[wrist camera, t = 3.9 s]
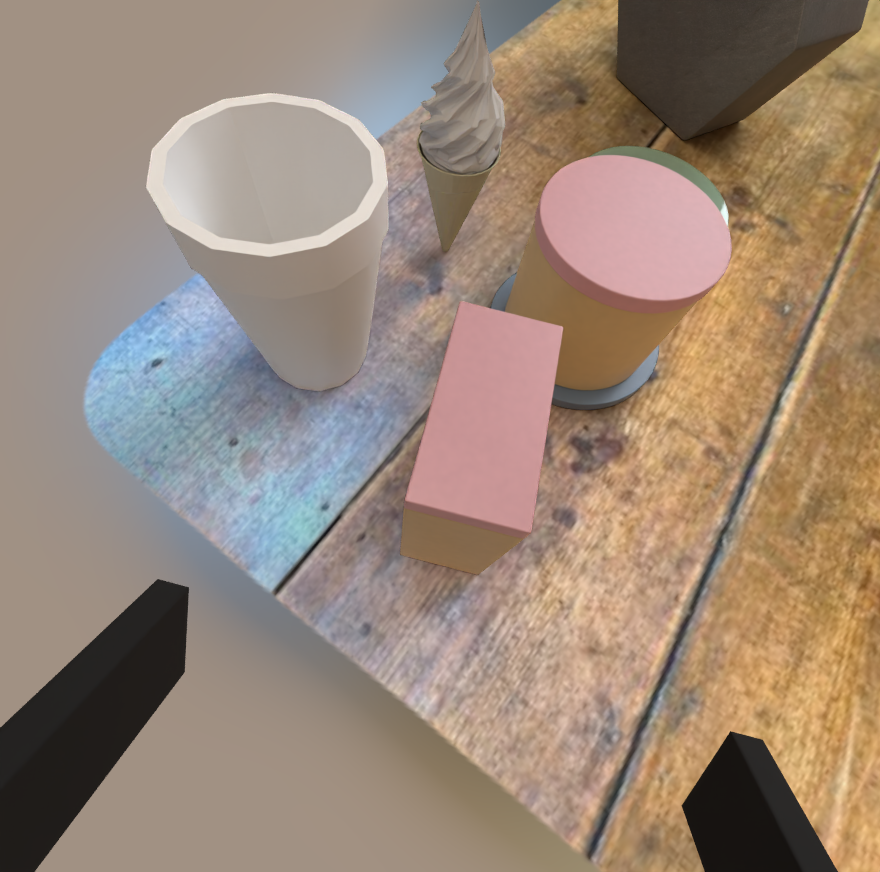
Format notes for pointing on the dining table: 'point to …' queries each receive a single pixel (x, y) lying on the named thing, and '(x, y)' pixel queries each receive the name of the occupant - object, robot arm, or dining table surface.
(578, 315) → the cake
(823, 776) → the dining table surface
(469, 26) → the ice cream cone
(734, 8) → the brown hexagonal block
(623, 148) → the plate
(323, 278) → the foam cup
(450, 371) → the cake slice
